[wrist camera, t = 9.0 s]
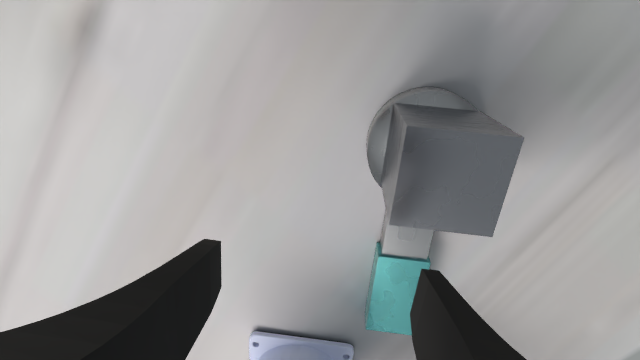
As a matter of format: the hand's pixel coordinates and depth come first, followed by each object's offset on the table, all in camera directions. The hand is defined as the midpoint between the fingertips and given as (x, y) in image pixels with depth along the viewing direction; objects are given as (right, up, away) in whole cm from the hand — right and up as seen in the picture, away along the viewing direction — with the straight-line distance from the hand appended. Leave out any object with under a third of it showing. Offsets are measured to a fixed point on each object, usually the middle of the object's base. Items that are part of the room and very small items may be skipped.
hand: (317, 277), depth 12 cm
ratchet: (+6, +1, +10) cm, 11 cm away
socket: (+6, +5, +6) cm, 10 cm away
